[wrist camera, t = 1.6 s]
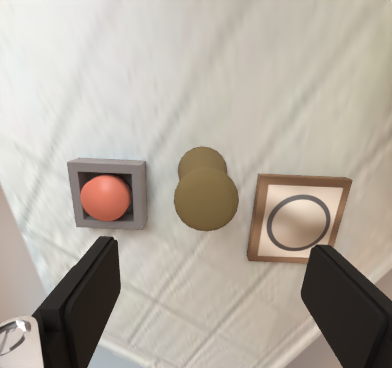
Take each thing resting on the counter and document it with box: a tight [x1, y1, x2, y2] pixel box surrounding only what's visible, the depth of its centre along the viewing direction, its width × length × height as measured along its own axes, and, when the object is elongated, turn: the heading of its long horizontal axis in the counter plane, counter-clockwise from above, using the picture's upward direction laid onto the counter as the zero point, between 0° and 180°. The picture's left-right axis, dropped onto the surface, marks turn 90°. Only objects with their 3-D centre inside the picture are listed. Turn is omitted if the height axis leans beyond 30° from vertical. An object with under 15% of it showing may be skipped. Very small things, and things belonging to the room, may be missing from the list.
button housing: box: [67, 158, 147, 230], centre depth 25 cm, size 8×8×2 cm
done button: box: [80, 174, 132, 221], centre depth 24 cm, size 5×5×2 cm
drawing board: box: [247, 174, 352, 263], centre depth 27 cm, size 12×11×2 cm
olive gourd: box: [174, 147, 239, 231], centre depth 20 cm, size 6×6×11 cm
